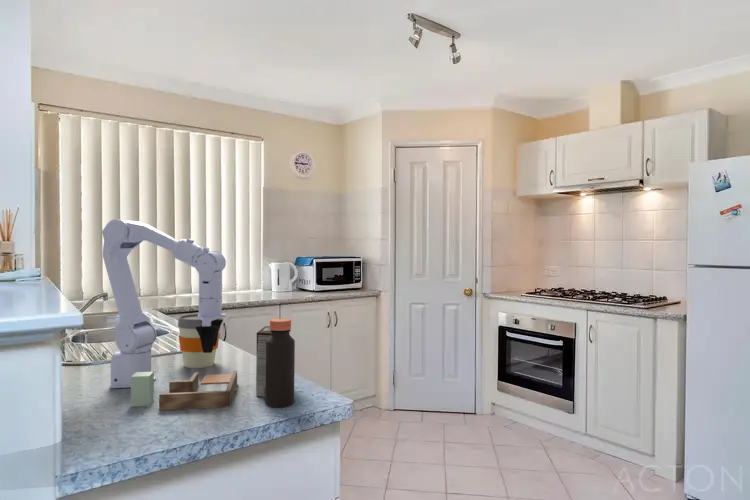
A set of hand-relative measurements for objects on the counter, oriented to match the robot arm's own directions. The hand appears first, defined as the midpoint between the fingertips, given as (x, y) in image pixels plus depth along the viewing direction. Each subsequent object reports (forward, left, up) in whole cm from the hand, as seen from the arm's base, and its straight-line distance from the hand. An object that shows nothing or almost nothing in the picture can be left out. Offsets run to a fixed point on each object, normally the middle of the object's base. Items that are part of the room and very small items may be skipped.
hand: (209, 349), depth 128 cm
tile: (+1, +7, -10) cm, 12 cm away
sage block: (-14, -11, -10) cm, 20 cm away
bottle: (+18, -16, -10) cm, 26 cm away
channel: (-1, -7, -10) cm, 12 cm away
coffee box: (+16, -6, -10) cm, 20 cm away
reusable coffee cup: (-7, +25, -10) cm, 28 cm away
